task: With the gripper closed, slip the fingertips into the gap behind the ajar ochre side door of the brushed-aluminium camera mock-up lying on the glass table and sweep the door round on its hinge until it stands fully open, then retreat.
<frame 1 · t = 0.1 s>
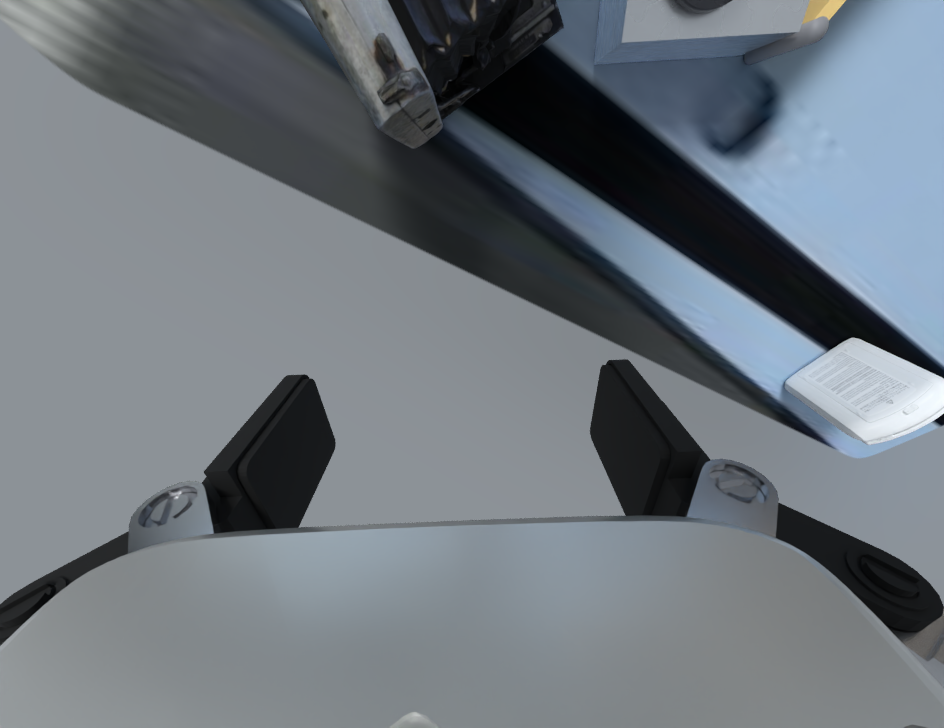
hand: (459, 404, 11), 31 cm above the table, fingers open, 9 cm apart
photo printer: (818, 365, 48), on the table
vintage camera: (454, 44, 30), on the table
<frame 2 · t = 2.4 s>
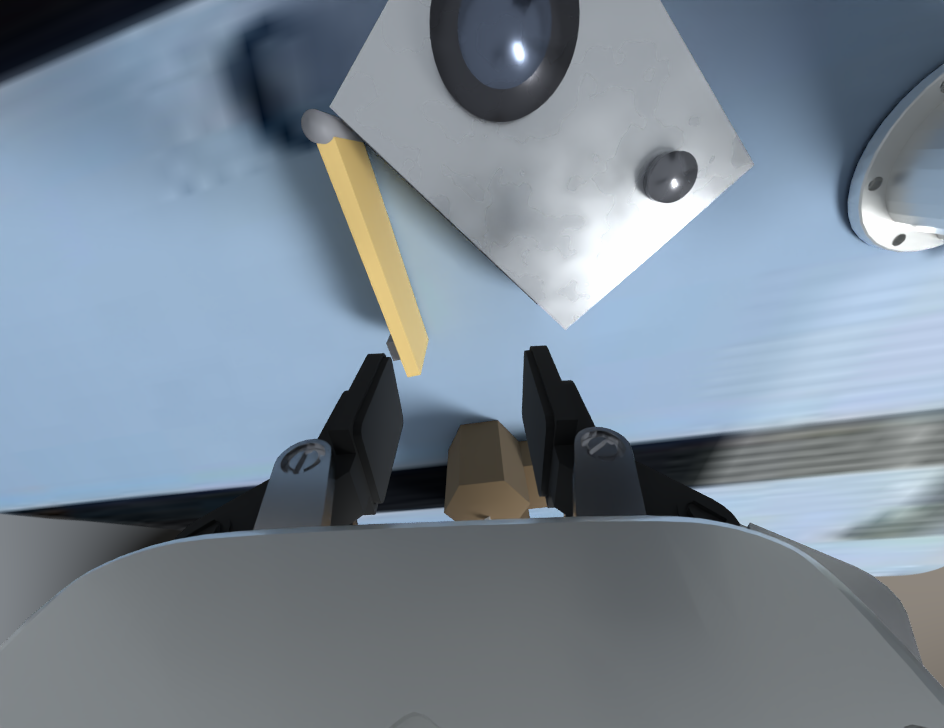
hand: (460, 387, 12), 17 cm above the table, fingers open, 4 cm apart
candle: (501, 468, 39), on the table
ochre side door: (376, 260, 23), point 4 cm above the table, hinge at 35.0°
aluminium camera mock-up: (530, 143, 23), on the table
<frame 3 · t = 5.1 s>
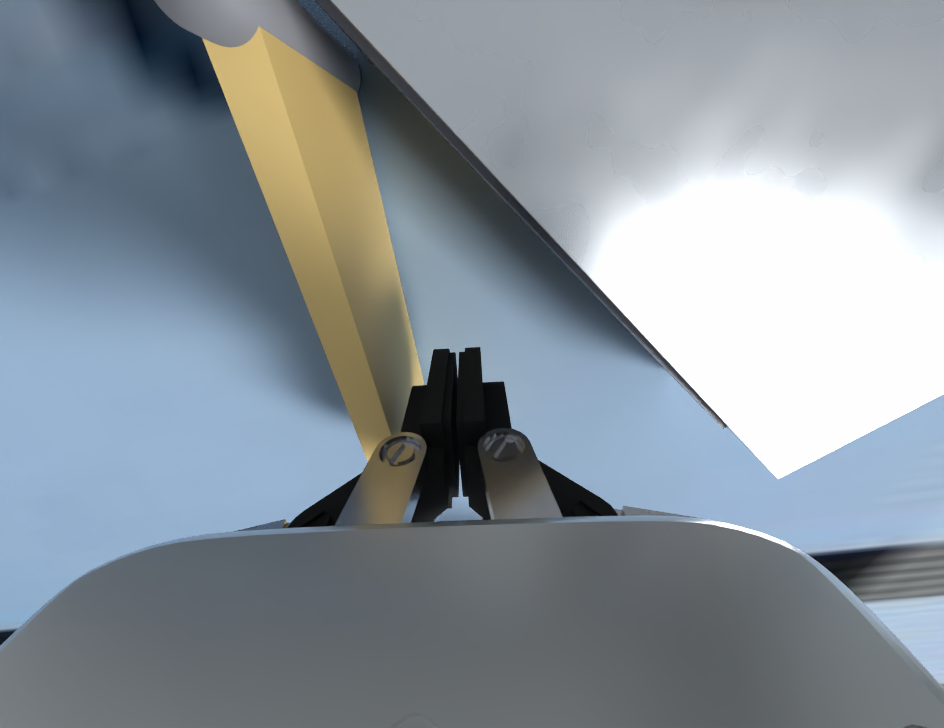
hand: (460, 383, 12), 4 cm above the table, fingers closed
ochre side door: (362, 336, 11), point 4 cm above the table, hinge at 41.2°, touching gripper
aluminium camera mock-up: (703, 93, 11), on the table
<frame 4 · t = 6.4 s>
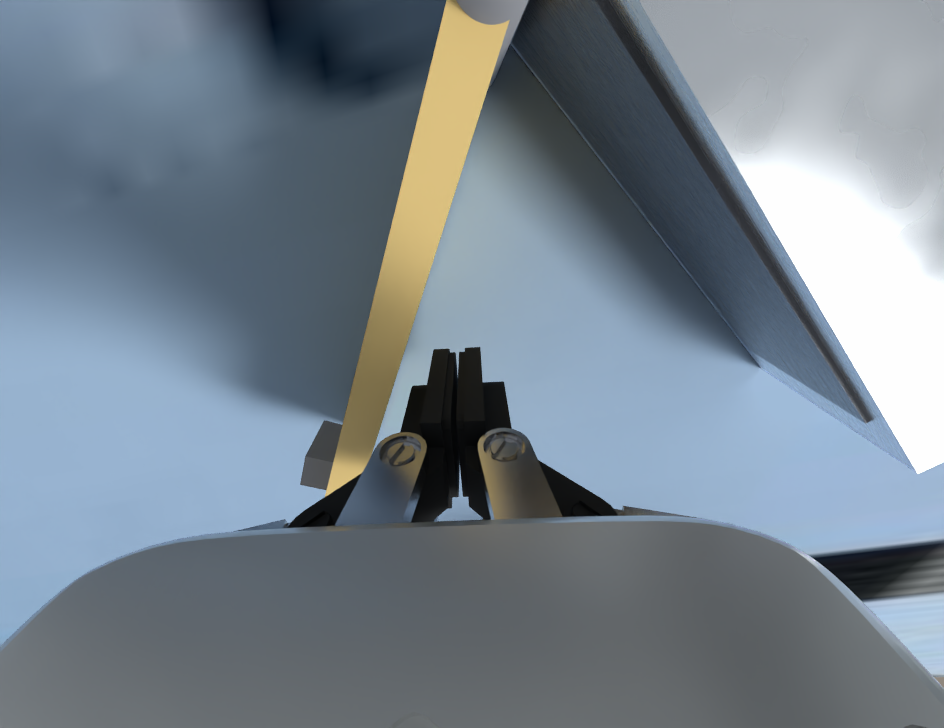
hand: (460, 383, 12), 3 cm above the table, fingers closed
ochre side door: (380, 316, 11), point 4 cm above the table, hinge at 69.0°, touching gripper
aluminium camera mock-up: (838, 84, 11), on the table
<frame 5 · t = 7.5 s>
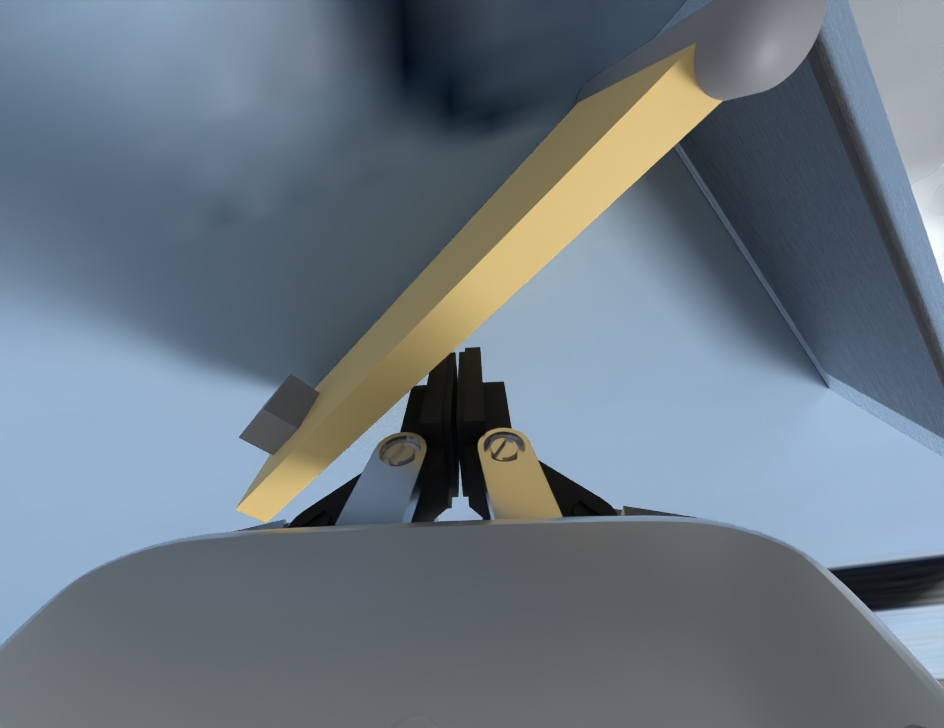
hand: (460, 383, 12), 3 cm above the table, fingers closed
ochre side door: (418, 294, 10), point 3 cm above the table, hinge at 92.8°, touching gripper
aluminium camera mock-up: (941, 123, 11), on the table
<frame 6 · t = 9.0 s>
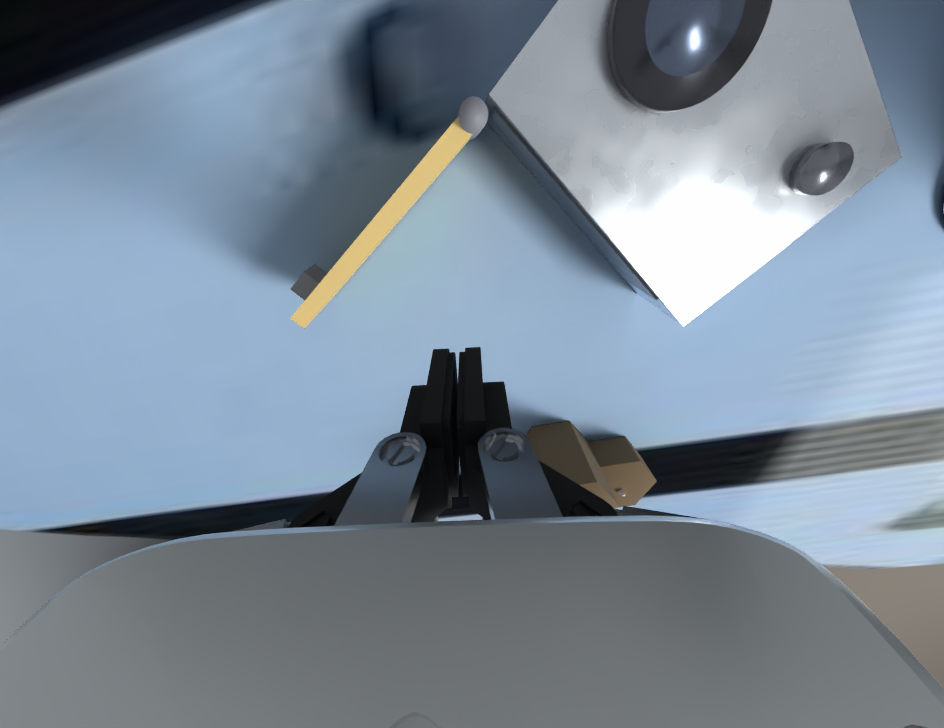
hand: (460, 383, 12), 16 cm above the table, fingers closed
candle: (566, 469, 39), on the table
ochre side door: (379, 215, 21), point 3 cm above the table, hinge at 93.9°
aluminium camera mock-up: (644, 137, 22), on the table
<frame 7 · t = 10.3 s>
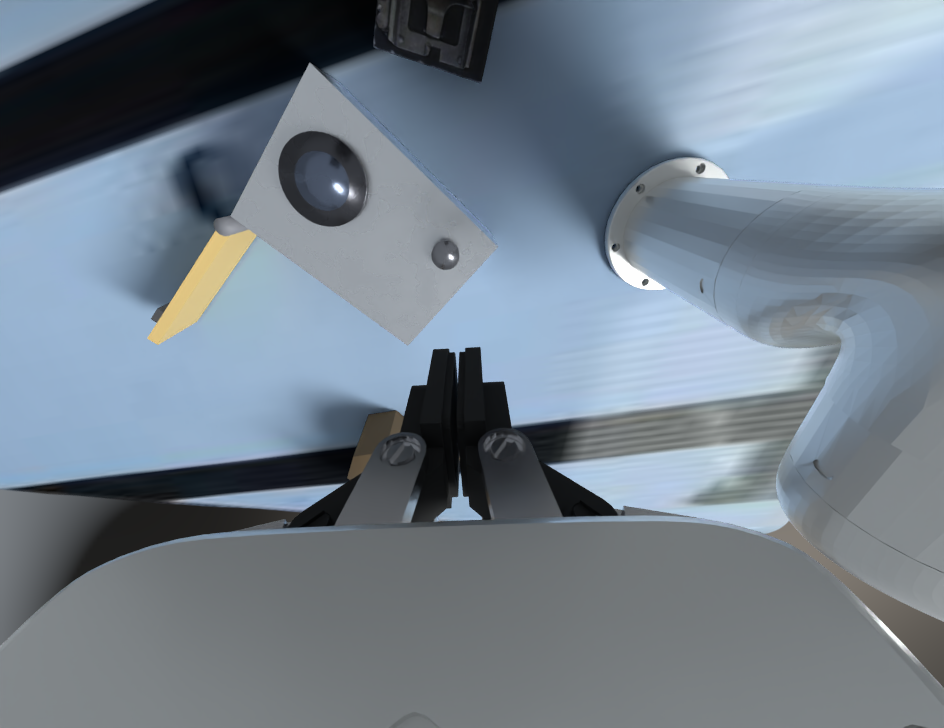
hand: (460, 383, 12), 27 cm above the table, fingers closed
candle: (407, 448, 51), on the table
ochre side door: (202, 273, 33), point 4 cm above the table, hinge at 93.9°
aluminium camera mock-up: (383, 220, 34), on the table
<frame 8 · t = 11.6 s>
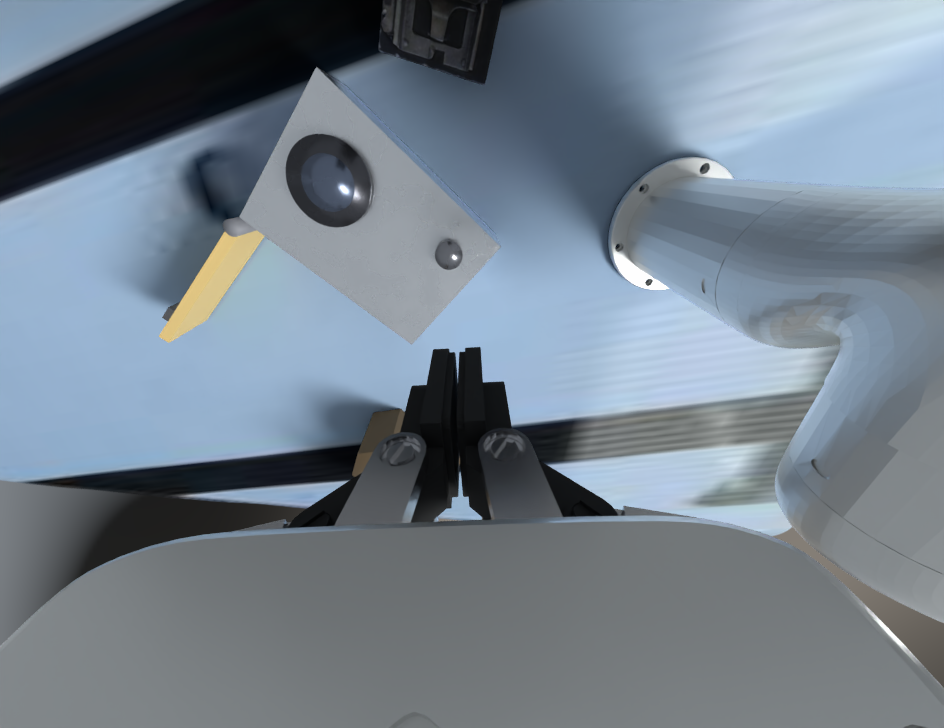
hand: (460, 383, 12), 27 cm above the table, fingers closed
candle: (411, 446, 51), on the table
ochre side door: (212, 273, 34), point 4 cm above the table, hinge at 93.9°
aluminium camera mock-up: (388, 221, 34), on the table
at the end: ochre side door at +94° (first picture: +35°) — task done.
